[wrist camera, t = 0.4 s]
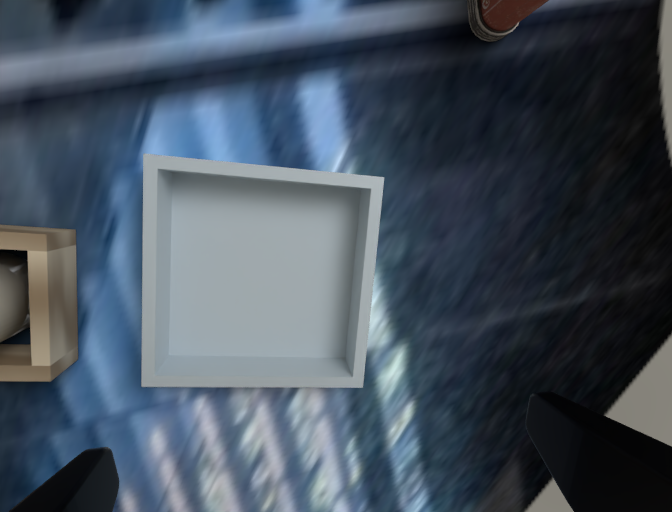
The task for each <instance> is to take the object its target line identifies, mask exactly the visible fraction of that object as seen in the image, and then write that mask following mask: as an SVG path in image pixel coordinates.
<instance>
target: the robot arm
mask: <svg viewBox="0 0 672 512" xmlns="http://www.w3.org/2000/svg"><path fill="white" fill-rule="evenodd" d="M526 428H527V431H528V434H529V436H530V437H531V439H532V441H533V443H534V444H535V446H536V448H537V450H538V452H539V453H540V455H541V457H542V459H543V460H544V462H545V464H546V466H547V467H548V469H549V471H550V473H551V474H552V476H553V478H554V480H555V481H556V483H557V485H558V487H559V488H560V490H561V492H562V493H563V495H564V497H565V498H566V500H567V502H568V503H569V505H570V506H571V508H572V509H573V511H574V512H672V447H671V446H669V445H667V444H665V443H663V442H661V441H658V440H656V439H654V438H652V437H650V436H647V435H645V434H643V433H641V432H638V431H636V430H634V429H632V428H630V427H627V426H625V425H623V424H621V423H619V422H617V421H614V420H612V419H610V418H608V417H606V416H603V415H601V414H599V413H597V412H595V411H592V410H590V409H588V408H586V407H584V406H581V405H579V404H577V403H575V402H573V401H570V400H568V399H566V398H564V397H562V396H559V395H557V394H555V393H553V392H549V391H545V392H537V393H533V394H532V395H531V396H530V399H529V404H528V410H527V416H526ZM118 489H119V477H118V473H117V469H116V465H115V461H114V457H113V453H112V451H111V449H110V448H109V447H100V448H92V449H87V450H85V451H83V452H82V453H81V454H79V455H78V456H77V457H76V458H74V459H73V460H72V461H71V462H69V463H68V464H67V465H66V466H64V467H63V468H62V469H61V470H59V471H58V472H57V473H56V474H55V475H53V476H52V477H51V478H50V479H48V480H47V481H46V482H45V483H43V484H42V485H41V486H40V487H38V488H37V489H36V490H35V491H33V492H32V493H31V494H30V495H29V496H27V497H26V498H25V499H24V500H22V501H21V502H20V503H19V504H17V505H16V506H15V507H14V508H12V509H11V510H10V511H9V512H112V511H113V508H114V504H115V501H116V497H117V494H118Z"/></svg>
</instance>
